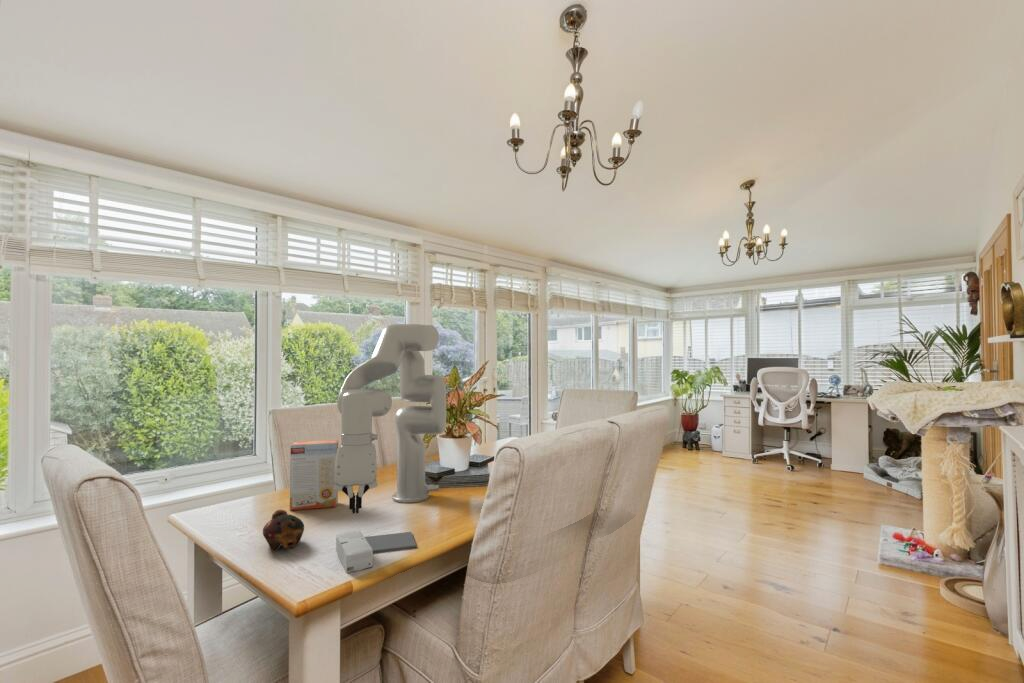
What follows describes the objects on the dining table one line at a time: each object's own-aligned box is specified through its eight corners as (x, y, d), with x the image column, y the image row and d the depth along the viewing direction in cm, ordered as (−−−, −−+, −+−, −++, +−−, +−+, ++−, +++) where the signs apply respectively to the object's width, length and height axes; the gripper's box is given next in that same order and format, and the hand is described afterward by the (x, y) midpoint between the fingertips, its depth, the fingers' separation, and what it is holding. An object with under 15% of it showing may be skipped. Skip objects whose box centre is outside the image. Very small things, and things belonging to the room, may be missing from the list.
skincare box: (360, 529, 120) (374, 547, 109) (359, 546, 120) (374, 567, 109) (334, 534, 116) (347, 554, 106) (334, 552, 116) (346, 573, 106)
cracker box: (338, 502, 158) (339, 439, 159) (335, 507, 152) (337, 442, 153) (292, 505, 155) (294, 440, 156) (288, 511, 149) (290, 444, 150)
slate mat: (411, 533, 130) (411, 531, 130) (415, 547, 121) (415, 545, 121) (353, 540, 125) (353, 538, 125) (353, 555, 116) (353, 552, 116)
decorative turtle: (292, 533, 130) (295, 504, 131) (312, 553, 119) (315, 521, 119) (253, 540, 124) (256, 509, 124) (270, 562, 113) (274, 529, 113)
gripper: (385, 436, 128) (384, 504, 127) (326, 438, 123) (324, 510, 122) (387, 440, 120) (386, 513, 120) (324, 443, 116) (323, 519, 115)
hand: (355, 511), depth 121 cm, fingers closed
